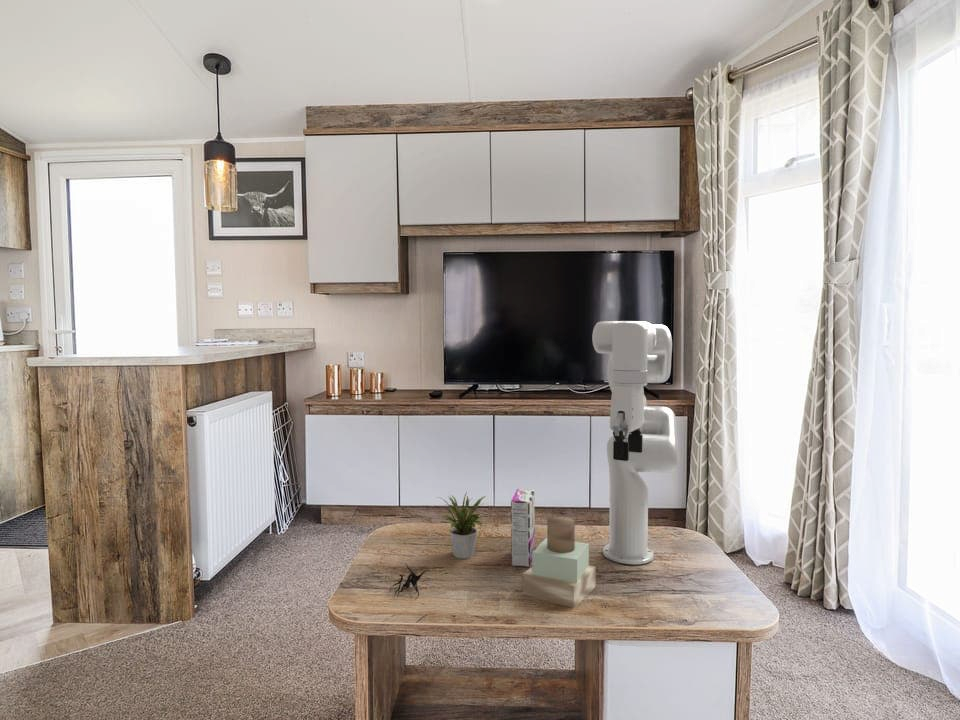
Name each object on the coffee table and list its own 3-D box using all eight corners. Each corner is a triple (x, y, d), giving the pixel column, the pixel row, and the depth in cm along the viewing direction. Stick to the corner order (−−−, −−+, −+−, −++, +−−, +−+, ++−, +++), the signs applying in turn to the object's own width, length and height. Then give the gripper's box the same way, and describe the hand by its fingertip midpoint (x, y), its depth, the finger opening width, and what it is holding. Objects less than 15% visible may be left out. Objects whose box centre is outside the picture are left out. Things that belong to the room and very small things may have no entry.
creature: (410, 608, 122) (433, 586, 129) (407, 586, 121) (430, 565, 127) (383, 599, 126) (406, 578, 133) (379, 577, 125) (402, 558, 132)
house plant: (425, 564, 142) (425, 499, 141) (436, 543, 156) (436, 484, 155) (483, 567, 140) (483, 501, 140) (488, 546, 154) (489, 486, 153)
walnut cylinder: (554, 541, 132) (554, 515, 131) (578, 546, 128) (579, 519, 128) (542, 549, 127) (542, 522, 126) (567, 555, 123) (567, 527, 123)
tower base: (547, 575, 137) (547, 555, 136) (595, 588, 130) (595, 566, 130) (523, 595, 126) (523, 573, 126) (573, 609, 120) (574, 586, 120)
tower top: (546, 558, 134) (546, 537, 134) (588, 565, 130) (588, 543, 130) (532, 574, 125) (532, 552, 125) (577, 583, 121) (577, 559, 121)
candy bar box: (516, 549, 152) (516, 488, 151) (535, 550, 151) (535, 489, 150) (509, 566, 141) (510, 500, 140) (530, 568, 140) (530, 501, 139)
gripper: (625, 375, 135) (623, 447, 136) (598, 380, 120) (597, 461, 121) (657, 376, 131) (656, 450, 132) (634, 382, 116) (632, 465, 117)
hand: (628, 455), depth 126 cm, fingers open, 9 cm apart
